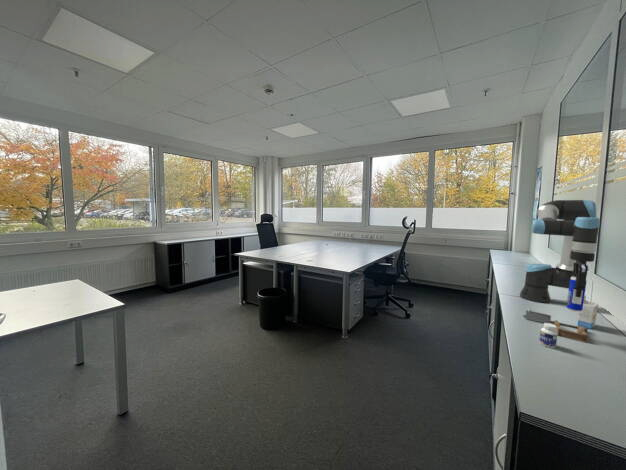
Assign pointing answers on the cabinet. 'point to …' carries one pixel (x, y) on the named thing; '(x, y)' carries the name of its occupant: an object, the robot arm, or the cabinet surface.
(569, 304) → the beverage can
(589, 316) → the ink box
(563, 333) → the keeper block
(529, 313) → the latch block with knob
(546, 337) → the pill bottle
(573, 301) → the robot arm
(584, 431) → the cabinet surface
